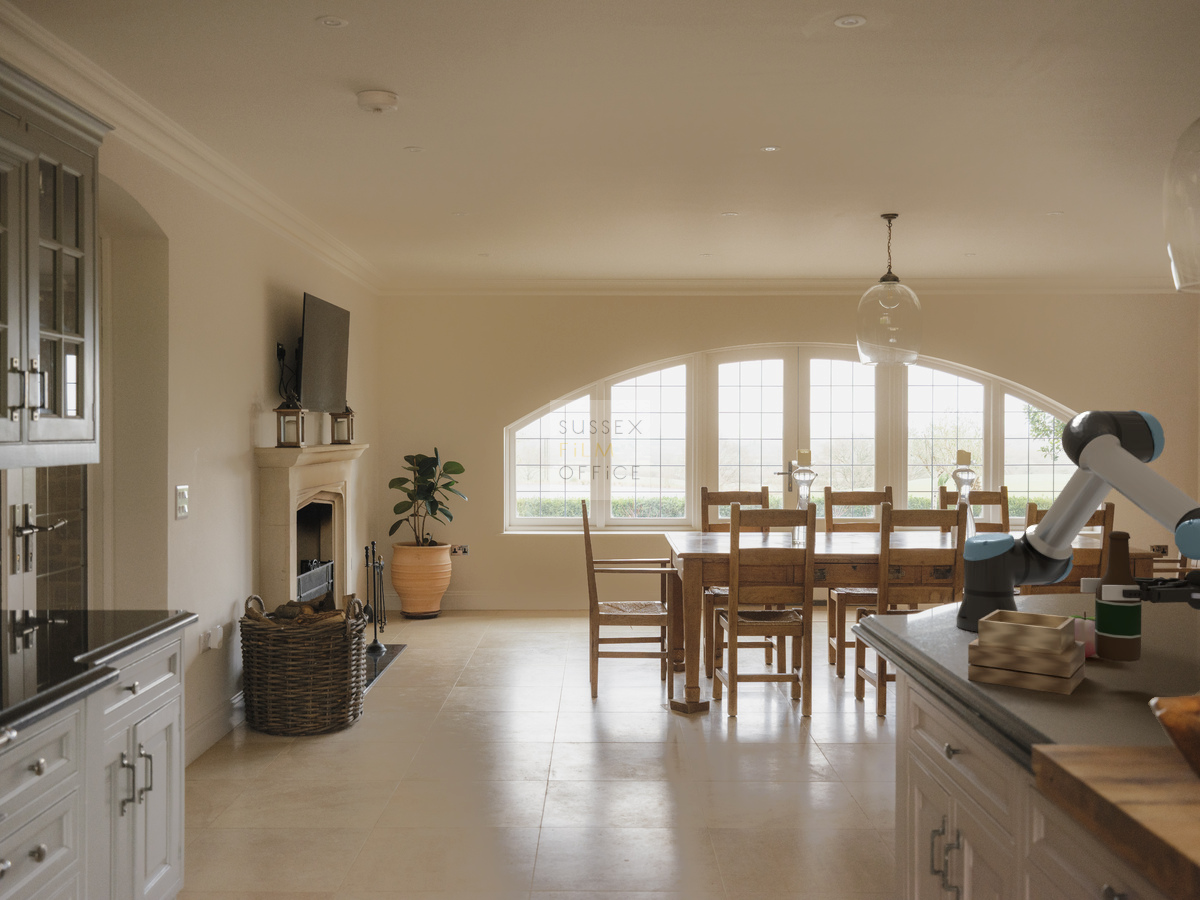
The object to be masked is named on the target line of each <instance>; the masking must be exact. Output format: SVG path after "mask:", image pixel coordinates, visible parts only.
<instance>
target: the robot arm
mask: <svg viewBox="0 0 1200 900" xmlns="http://www.w3.org/2000/svg"><path fill="white" fill-rule="evenodd" d="M1164 433H1165V432H1164V428H1163V427H1162V424H1161V423H1160V421H1159V420H1158V419H1157V417H1155V416H1154V415H1153V414H1151V413H1149V412H1146V411H1141V410H1140V411H1139V410H1133V409H1130V410H1097V409H1096V410H1086V411H1083V412H1081V413H1078V414H1076V415H1074V416H1073V417H1072V418H1071V419H1070V420H1069V421H1068V422H1067V423H1066V424H1065V426H1064V427H1063V430H1062V433H1061V445H1062V449H1063V451H1064V453H1065V455H1066V456H1067V457H1068V459H1069V460H1070V461H1071V463H1073V464H1074V465H1076V467H1077V469H1075V471H1074V473H1073V474H1072V476H1071V477H1070V479H1069V480H1068V481H1067V483H1066V484H1065V486H1064V487H1063V489H1062V490H1061V491H1060V493H1058V496H1057V497H1056V499H1055V500H1054V502H1053V503H1052V504H1051V506H1050V507H1049V508H1048V510H1047V512H1046V513H1045V514H1044V516H1043V517H1042V519H1041V520H1040V521H1039V522H1038V524H1037V523H1036V524H1032V525H1029V526H1028V527H1027V529H1026V530H1025V532H1024V533H1023V534H1022V536H1021V537H1020V538H1014V536H1013V535H1011V534H1008V533H986V534H985V533H983V534H978V535H974V536H971V537H968V538H967V539H966V540H965V542H964V548H963V554H962V555H963V597H962V600H961V602H960V603H961V604H960V607H959V609H958V612H957V615H956V627H958V628H959V629H963V630H964V631H965V630H966V631H971V632H977V633H978V620H980V619H982V618H983V617H985V616H987V615H989V614H990V613H992V612H994V611H996V610H1006V611H1016V612H1019V610H1018V607H1017V604H1016V601H1015V586H1026V585H1027V586H1029V585H1032V586H1033V585H1044V586H1045V585H1051V584H1056V583H1059V582H1062V581H1063V580H1065V579H1067V577H1068V576H1069V574H1070V573H1071V572H1072V570H1073V567H1074V563H1072V561H1074V549H1073V545H1072V543H1073V542H1074V540H1076V538H1077V537H1078V536H1079V534H1080V532H1081V531H1082V529H1083V528H1084V527H1085V526H1086V525H1087V523H1088V521H1090V519H1091V518H1092V517H1093V515H1094V514H1095V512H1096V511H1097V510H1098V508H1099V507H1100V505H1101V504H1102V503H1103V502H1104V500H1105V499H1106V498H1107V496H1108V495H1109V494H1110V492H1112V490H1113V489H1115V490H1116V491H1117V492H1118V493H1119V494H1121V495H1122V496H1123V497H1125V499H1127V500H1129V501H1130V502H1131V503H1132V504H1133V505H1134V506H1136V507H1138V508H1139V509H1140V510H1141V511H1143V512H1144V513H1145V514H1146V515H1148V516H1149V517H1150V518H1152V519H1153V520H1154V521H1155V522H1157V523H1158V524H1159V525H1161V526H1162V527H1163V528H1164V529H1166V531H1168V532H1170V533H1171V534H1172V535H1174V543H1175V546H1176V547H1177V549H1178V552H1179V553H1180V554H1181V555H1182V556H1184V557H1185V558H1187V559H1190V560H1192V561H1193V560H1194V561H1200V502H1198V501H1197V500H1195V499H1194V498H1192V497H1191V496H1189V495H1188V494H1187V493H1185V492H1184V491H1183V490H1181V489H1180V488H1179V487H1177V486H1176V485H1175V484H1173V483H1172V482H1171V481H1169V480H1168V479H1166V478H1165V477H1164V476H1163V475H1160V474H1159V473H1158V472H1157V471H1155V470H1154V469H1153V468H1151V467H1150V466H1148V463H1153V462H1154V461H1155V460H1157V459H1158V458H1160V456H1161V455H1162V453H1163V451H1164V449H1165V443H1166V438H1165V436H1164V435H1165V434H1164ZM1132 577H1133V578H1134V580H1135V581H1136V582H1137V584H1138V585H1102V600H1138V601H1140V598H1141V601H1143V602H1148V601H1149V602H1150V603H1152V604H1162V603H1163V604H1165V603H1166V604H1167V603H1187V604H1188V606H1190V607H1191V608H1192V609H1194V610H1196V611H1197V610H1198V611H1199V610H1200V569H1193V570H1190V571H1188V573H1186V575H1185V576H1184V579H1180V578H1179V577H1169V578H1165V577H1161V576H1160V577H1137V576H1136V577H1135V576H1132ZM1101 578H1102V577H1101ZM1101 578H1100V577H1099V578H1098V577H1097V578H1096V577H1094V578H1093V577H1092V578H1091V577H1087V578H1086V577H1082V578H1080V593H1087V594H1089V593H1092V594H1093V593H1095V594H1096V588H1097V585H1098V583H1099V581H1100V579H1101Z"/></svg>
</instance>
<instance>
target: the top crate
mask: <svg viewBox="0 0 1200 900" xmlns="http://www.w3.org/2000/svg"><path fill="white" fill-rule="evenodd" d="M977 634H978V637H977V638H978V645H984V646H992V647H1000V648H1008V649H1016V650H1024V651H1032V652H1040V653H1048V654H1056V655H1061V654H1062V653H1063V652H1064V651H1065V650H1066V649H1067V648H1068V647H1070V646H1071V645H1072V644H1073V643H1074V642H1075V617H1068V616H1064V615H1054V614H1044V613H1033V612H1023V611H1018V612H1016V611H1006V610H996V611H994V612H992V613H990V614H989V615H987V616H985V617H983V618H982V619H980V620H978V632H977Z"/></svg>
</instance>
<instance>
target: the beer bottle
mask: <svg viewBox="0 0 1200 900" xmlns="http://www.w3.org/2000/svg"><path fill="white" fill-rule="evenodd" d="M1107 538H1108V541H1109V543H1108V555H1107V566H1106V569H1105V573H1104V575H1103V576H1101V579H1100V581H1099V583H1098V585H1097V588H1096V593H1095V596H1094V597H1095V598H1094V599H1095V601H1094V605H1095V606H1094V608H1095V609H1094V617H1095V653H1096V654H1095V655H1097V656H1098V658H1100V659H1104V660H1109V661H1114V662H1128V663H1131V662H1135V661H1136V662H1137V661H1140V659H1141V655H1142V654H1141V651H1142V650H1141V649H1142V603H1143V602H1142V600H1141V598H1140V601H1138V600H1102V585H1138V584H1137V582H1136V581H1135V580H1134V578H1133V577H1134V576H1133V574H1132V572H1131V571H1132V570H1131V563H1130V562H1131V561H1130V543H1129V539H1131V536H1130V533H1129V532H1127V531H1119V530H1111V531H1109V532H1108V535H1107Z"/></svg>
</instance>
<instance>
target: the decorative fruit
mask: <svg viewBox="0 0 1200 900" xmlns="http://www.w3.org/2000/svg"><path fill="white" fill-rule="evenodd" d="M1083 615H1084V616H1082V615H1078V614H1077V615H1068V616H1067V617H1075V641H1080V642H1085V659H1086V658H1089V657H1092V656H1094V655H1097V654H1096V653H1095V616H1087V612H1086V611H1084V612H1083Z"/></svg>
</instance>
